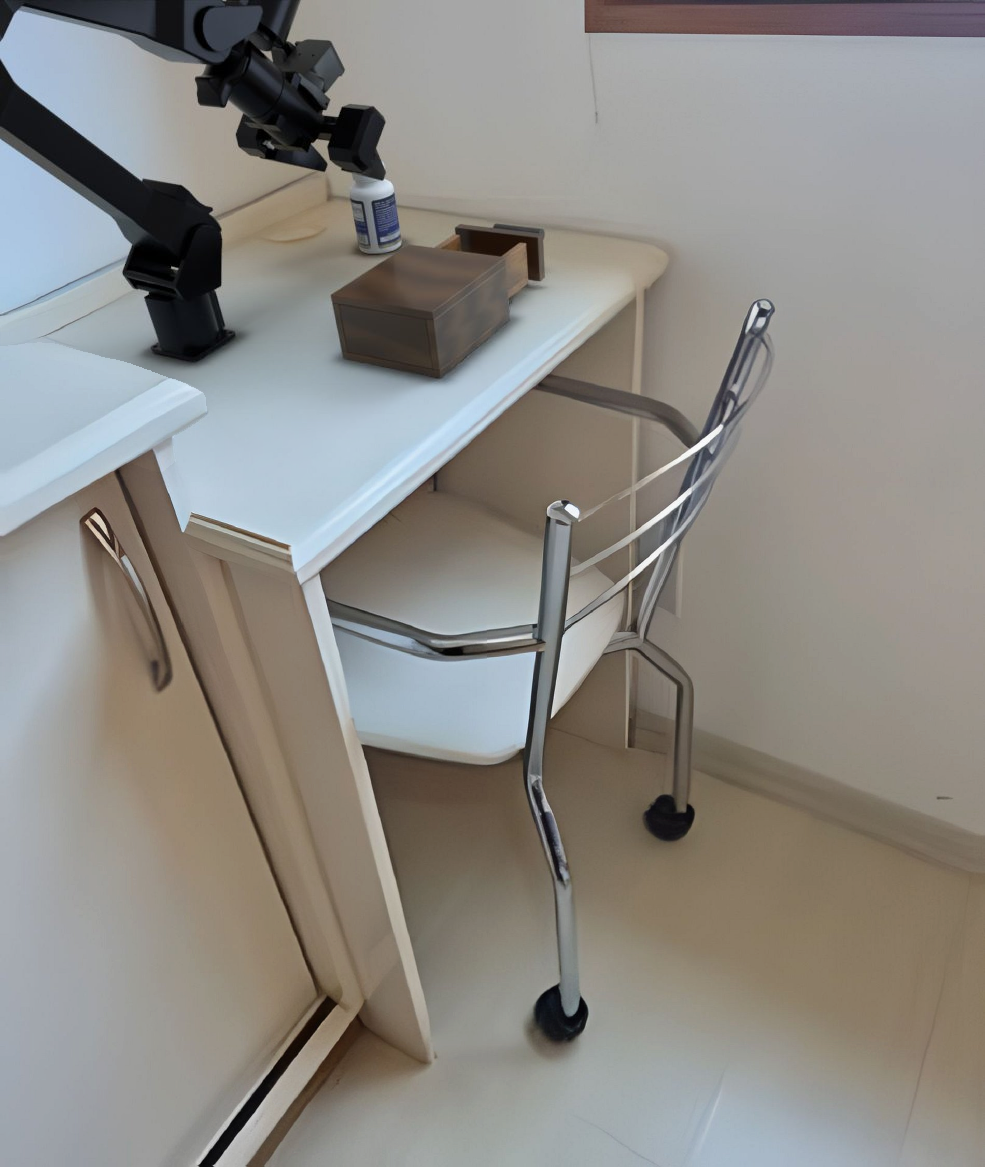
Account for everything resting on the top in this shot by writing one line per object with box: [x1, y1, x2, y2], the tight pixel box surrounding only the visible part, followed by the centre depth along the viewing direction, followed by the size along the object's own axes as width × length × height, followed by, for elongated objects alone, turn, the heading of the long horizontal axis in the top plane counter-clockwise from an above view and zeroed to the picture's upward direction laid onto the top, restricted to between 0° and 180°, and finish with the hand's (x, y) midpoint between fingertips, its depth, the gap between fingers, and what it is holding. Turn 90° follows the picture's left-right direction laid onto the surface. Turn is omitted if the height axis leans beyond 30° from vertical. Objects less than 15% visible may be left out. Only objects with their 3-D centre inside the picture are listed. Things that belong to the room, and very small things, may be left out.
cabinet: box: [330, 244, 511, 379], centre depth 92 cm, size 14×12×7 cm
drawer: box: [433, 223, 546, 300], centre depth 100 cm, size 17×10×5 cm, turn 150°
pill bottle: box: [349, 160, 403, 255], centre depth 113 cm, size 5×5×10 cm
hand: (354, 172), depth 108 cm, fingers open, 9 cm apart
